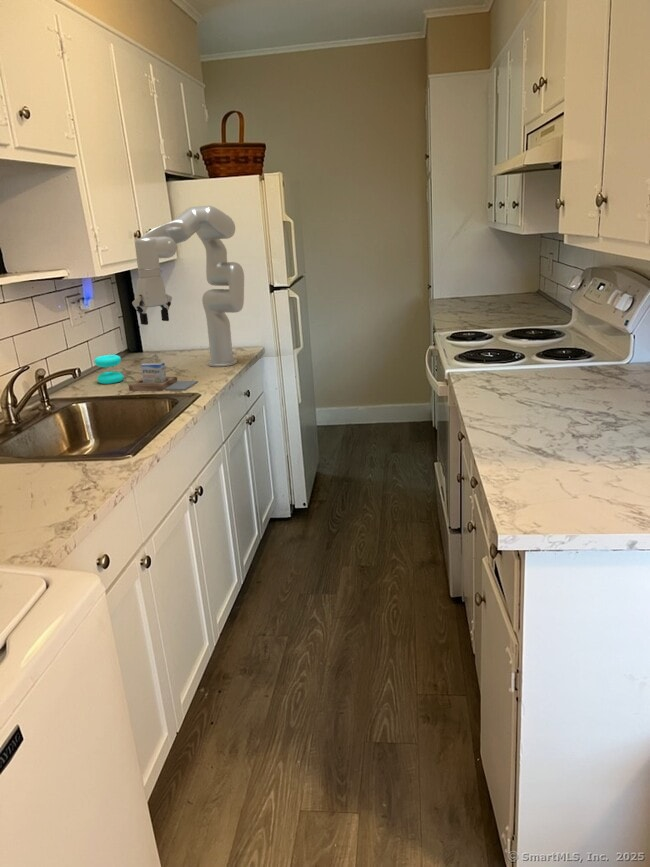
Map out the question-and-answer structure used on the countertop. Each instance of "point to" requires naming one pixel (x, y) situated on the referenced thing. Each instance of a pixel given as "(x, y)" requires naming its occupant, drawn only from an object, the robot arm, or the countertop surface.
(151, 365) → the medicine box
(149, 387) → the board
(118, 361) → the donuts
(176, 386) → the slate mat
